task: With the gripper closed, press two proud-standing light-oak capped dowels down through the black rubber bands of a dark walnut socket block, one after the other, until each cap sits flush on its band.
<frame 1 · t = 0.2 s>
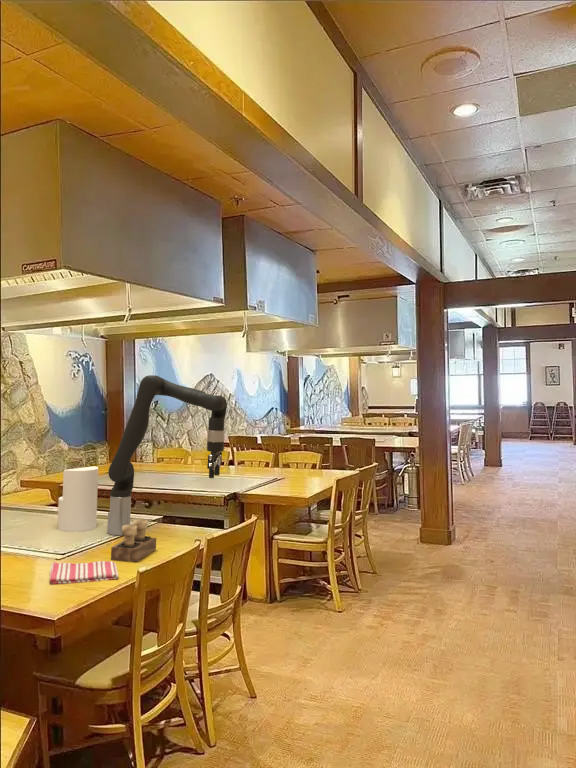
hand: (214, 476, 267), 29 cm above the table, fingers open, 8 cm apart
dish towel: (84, 576, 217), on the table
cylinder: (77, 527, 284), on the table
peg 1: (129, 537, 239), point 8 cm above the table, slide at 4.0 cm
peg 2: (140, 531, 248), point 8 cm above the table, slide at 4.0 cm
socket block: (134, 554, 244), on the table
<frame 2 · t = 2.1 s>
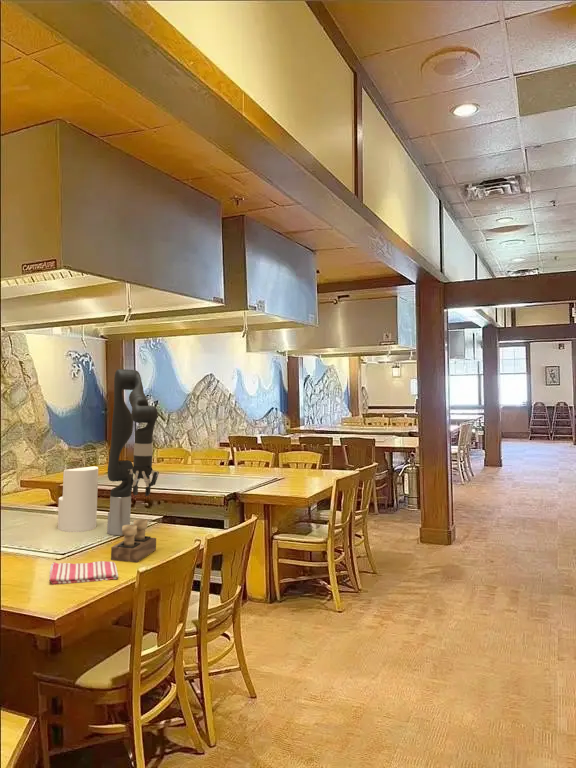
hand: (141, 495, 248), 23 cm above the table, fingers open, 4 cm apart
nothing on the table moved.
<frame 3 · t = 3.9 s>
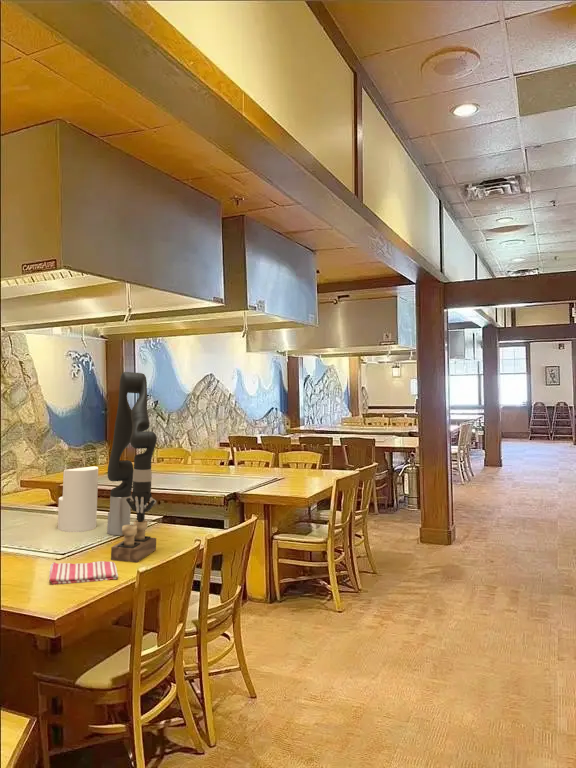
hand: (140, 521, 248), 12 cm above the table, fingers closed
peg 2: (140, 532, 248), point 8 cm above the table, slide at 3.6 cm, touching gripper
everything else where it was.
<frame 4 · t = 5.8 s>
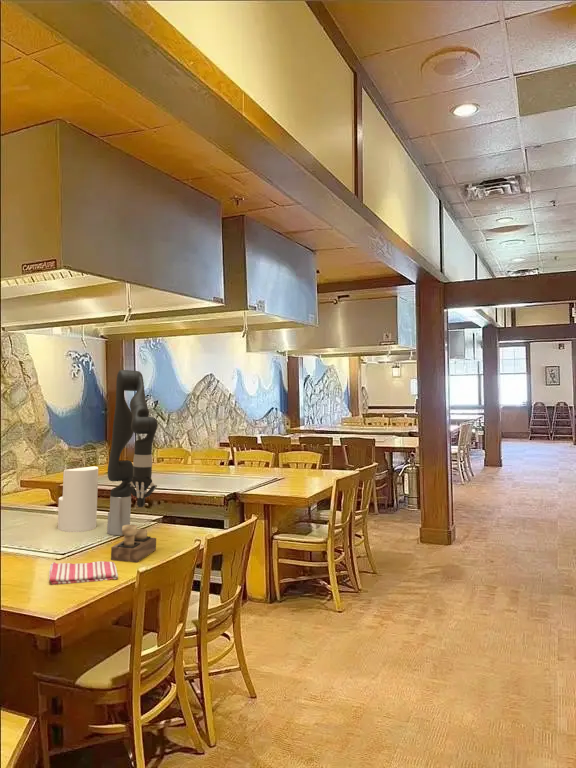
hand: (140, 506, 248), 18 cm above the table, fingers closed
peg 2: (139, 540, 248), point 4 cm above the table, slide at 0.0 cm
everything else where it was.
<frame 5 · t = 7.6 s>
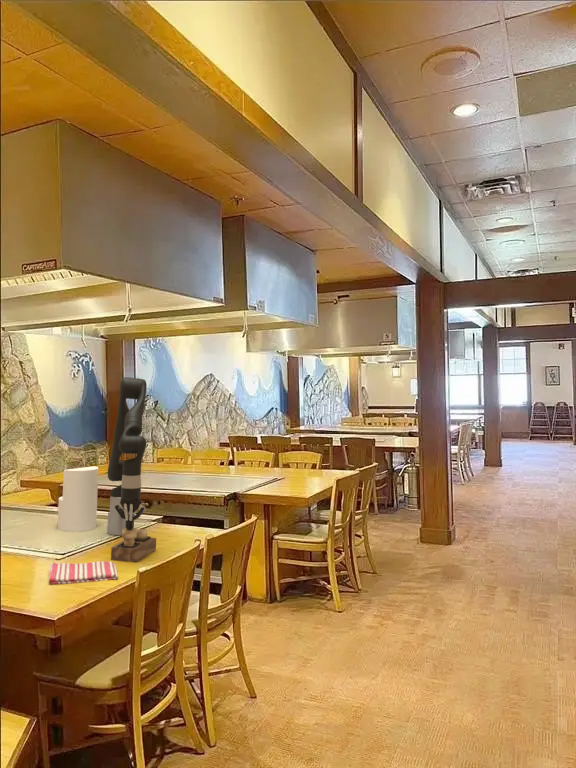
hand: (129, 529, 239), 11 cm above the table, fingers closed
peg 1: (129, 540, 239), point 7 cm above the table, slide at 2.7 cm, touching gripper
everything else where it was.
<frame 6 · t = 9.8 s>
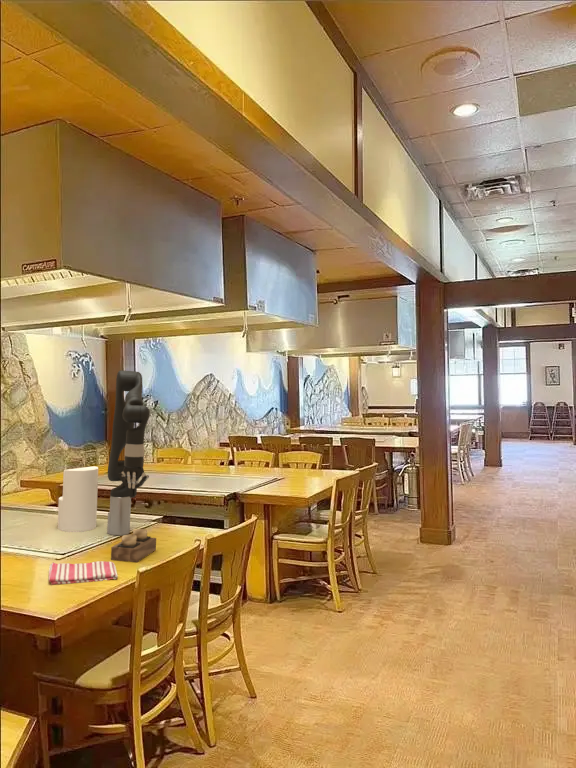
hand: (132, 497, 243), 23 cm above the table, fingers closed
peg 1: (128, 547, 239), point 4 cm above the table, slide at 0.0 cm
everything else where it was.
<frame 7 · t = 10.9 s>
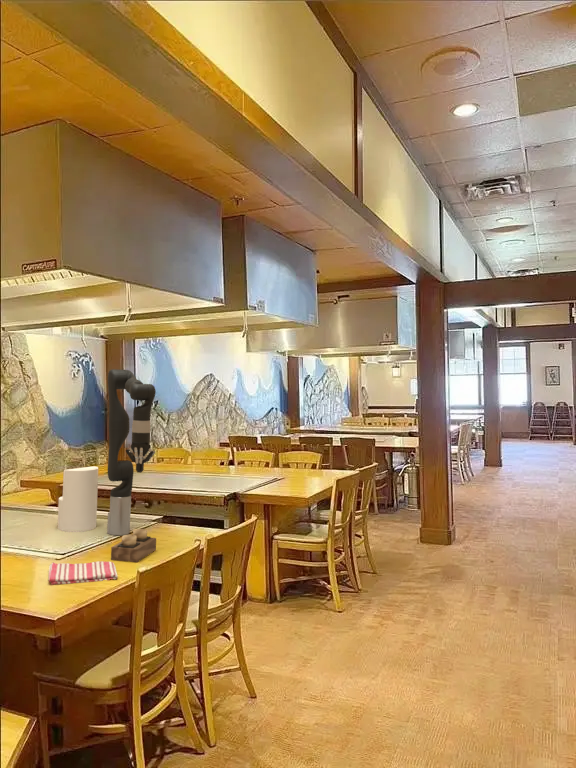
hand: (139, 472, 253), 32 cm above the table, fingers closed
nothing on the table moved.
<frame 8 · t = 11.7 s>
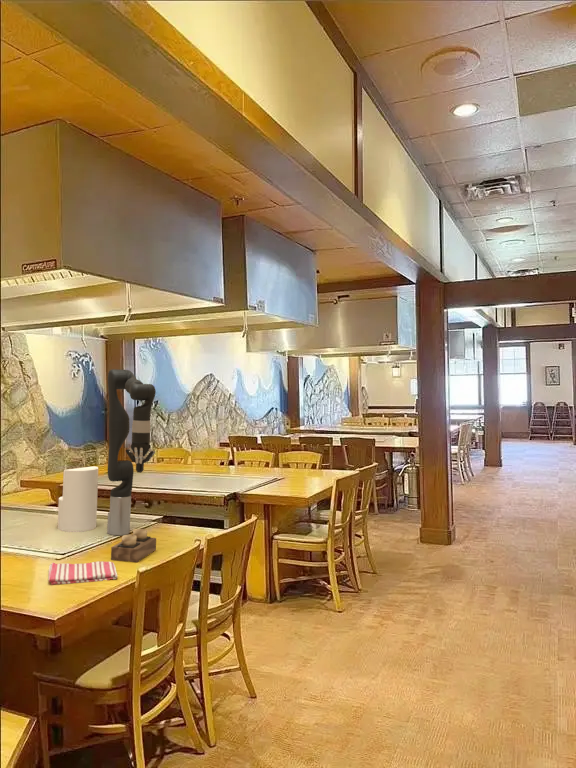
hand: (139, 472, 253), 32 cm above the table, fingers closed
nothing on the table moved.
at the end: peg 2 slide at 0.0 cm; peg 1 slide at 0.0 cm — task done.
